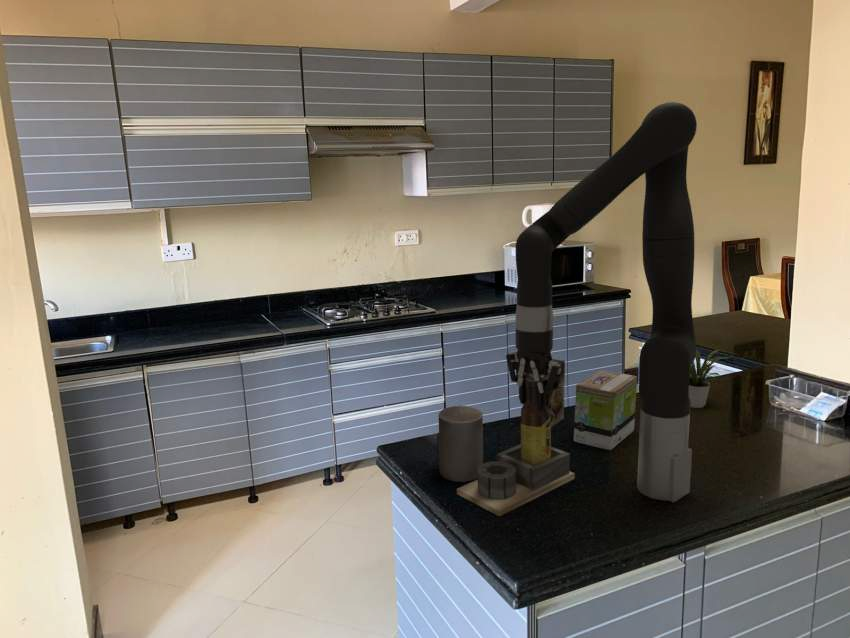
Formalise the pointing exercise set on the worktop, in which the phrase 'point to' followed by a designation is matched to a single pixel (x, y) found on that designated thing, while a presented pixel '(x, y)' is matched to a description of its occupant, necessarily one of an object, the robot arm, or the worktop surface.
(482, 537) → the worktop surface
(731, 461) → the worktop surface
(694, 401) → the house plant
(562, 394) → the coffee box
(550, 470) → the socket board
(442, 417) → the pillar candle
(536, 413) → the sauce bottle
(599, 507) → the worktop surface
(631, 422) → the tea box
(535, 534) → the worktop surface
